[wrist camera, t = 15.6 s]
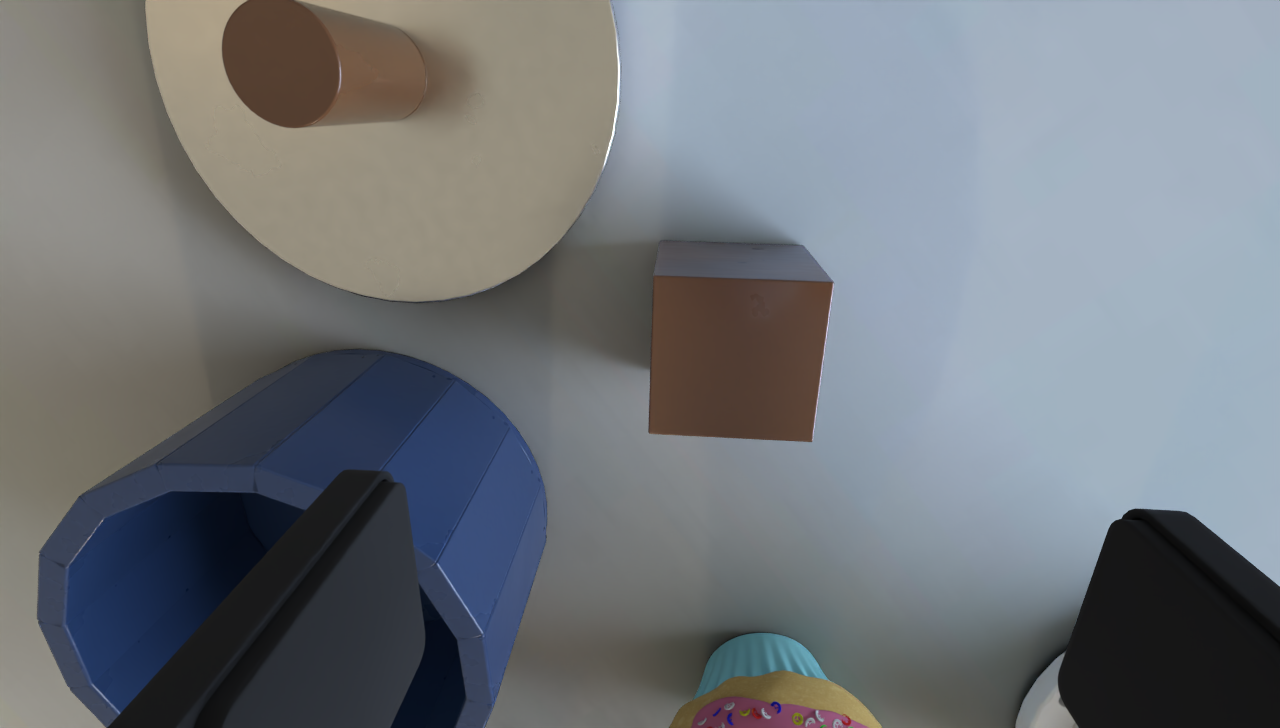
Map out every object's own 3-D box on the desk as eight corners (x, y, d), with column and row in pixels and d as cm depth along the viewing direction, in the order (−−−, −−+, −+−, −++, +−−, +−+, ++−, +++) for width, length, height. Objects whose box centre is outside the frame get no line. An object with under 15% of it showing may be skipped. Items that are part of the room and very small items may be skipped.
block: (804, 245, 21) (834, 282, 17) (788, 377, 23) (812, 442, 18) (659, 240, 21) (652, 275, 17) (655, 372, 23) (648, 434, 18)
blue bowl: (593, 424, 24) (551, 571, 16) (495, 663, 28) (427, 863, 21) (252, 296, 23) (42, 390, 15) (209, 566, 27) (31, 739, 20)
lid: (696, -82, 18) (701, -170, 12) (541, 351, 23) (493, 436, 17) (202, -304, 17) (-52, -517, 11) (154, 203, 22) (-37, 239, 16)
